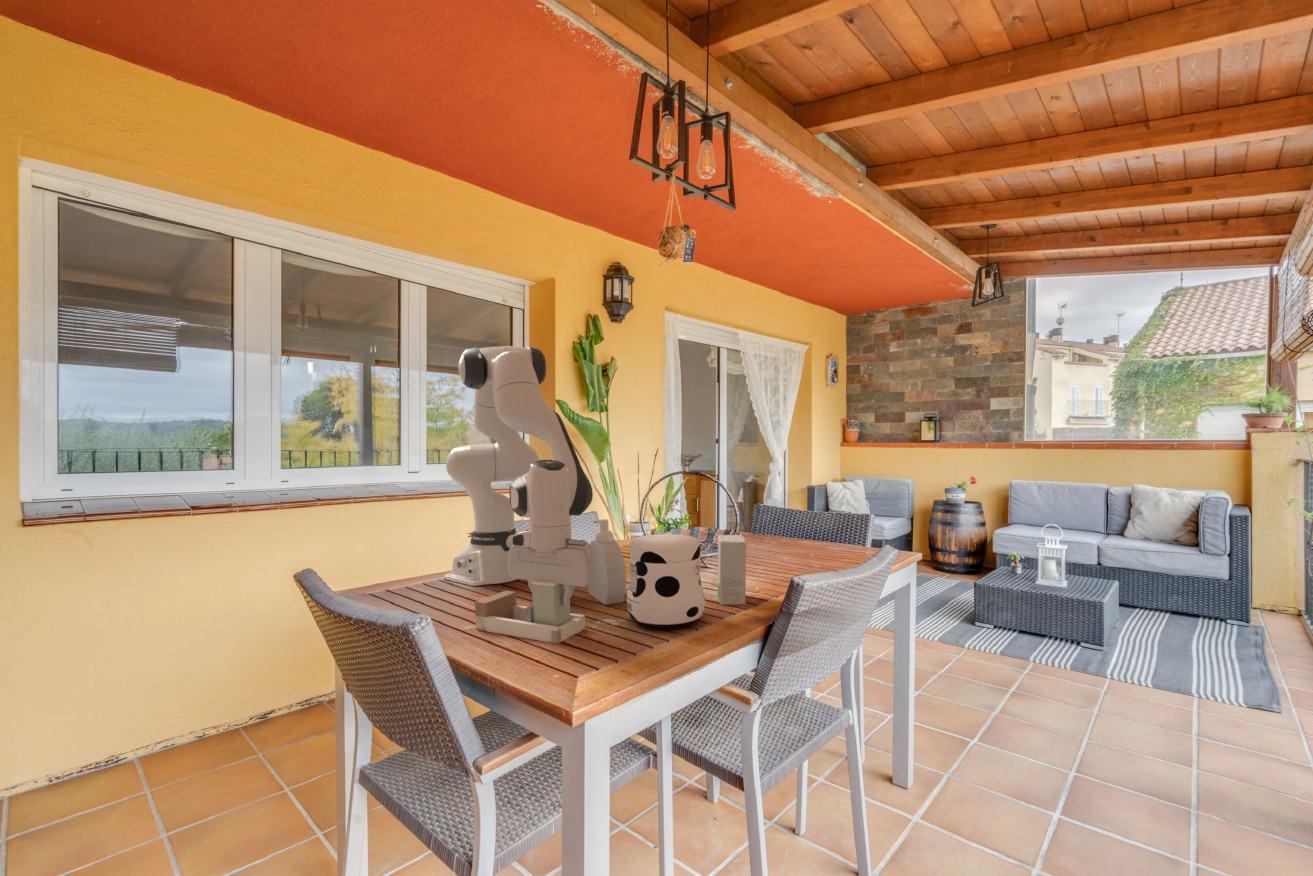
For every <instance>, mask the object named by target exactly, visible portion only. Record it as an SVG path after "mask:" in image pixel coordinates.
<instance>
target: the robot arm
mask: <svg viewBox="0 0 1313 876" xmlns="http://www.w3.org/2000/svg"><path fill="white" fill-rule="evenodd" d="M547 365H548V364H547V361H546V357H545V354H544V353H543V351H541V349H539V348H535V347H533V346H532V347H531V346H526V347H523V346H517V345H515V346H514V345H502V346H488V347H487V346H486V347H478V346H476V347H471V348H467V349H464V351H463V352H462V353H461V355H460V359H459V360H458V374H459V376H460V379H461V382H462V384H463V385H464V386H465V387H467V388H469V389H473V390H474V414H473V415H474V417H473V418H474V420H473V421H474V425H475V428H476V429H477V430H478V432H479V433H481V434H482V435H484V437H485V436H486V437H487V438H491V439H492V440H493V441H495V442H494V443H484V444H481V443H478V444H477V443H475V444H474V443H473V444H465V445H459V446H456V447H454V448H452V449H451V450H450V451H449V453H448V455H447V456H446V461H445V469H446V471H447V473H448V475H449V477H450V478H451V479H452V481H454V482H456V483H458V485H460V486H461V487H462V488H463V489H464V490H465V491H466V493H467V494H468V496H469V498H470V501H471V503H472V507H473V517H474V518H473V519H474V530H473V532H469V533H467V535H468V536H467V538H470V541H469V542H470V543H469V544H468V545H467V546H465V547H464V548H463V549H462V550H461V551H460V552H459V553H457V554H456V555H455V556H454V558H453V561H452V569H451V571H450V573H449V572H447V573H445V574H444V575H443V579H444V578H445V579H444V580H446V581H451V582H455V583H459V584H463V585H467V586H473V587H474V586H475V587H476V586H483V585H495V584H505V583H508V582H513V581H516V580H521V581H523V580H524V581H527V586H528V587H529V589H530V592H531V593H532V584H531V581H534V580H537V581H547V582H557V584H563V585H564V590H566V591H565V594H564V595H563V596H561V597H560V605H564V606H567V605H569V604H570V605H571V598H570V596H571V594H572V595H573V593H574V590H575V588H576V587H580V588H585V587H586V588H587V586H588V585H590V584H592V583H593V582H594V580H595V569H594V562H593V549H592V546H591V545H590V543H589V542H587V541H586V540H585V539H580V540H579V539H573V538H572V519H571V516H573V517H574V516H577V517H579V516H581V515H582V514H583V513H585V511H586V510H587V509H588V508H589V506H590V505H591V504H592V501H593V495H594V494H593V493H594V492H593V487H592V484H591V481H590V479H589V478H588V476H587V474H586V473H585V471H584V469H583V467H582V465H581V463H580V460H579V458H578V455H577V453H576V450H575V447H574V445H573V443H572V441H571V438H570V434H569V433H568V430H567V428H566V426H565V423H564V421H563V420H562V418H561V416H560V414H559V413H558V412H556V411H555V410H553V409H552V407H550V405H548V403H547V402H546V401H545V399H544V397H543V395H542V391H541V388H540V385H542V383H544V381H545V379H546V376H547V370H548V369H547V367H548V366H547ZM519 432H520V433H523V434H527V435H529V436H532V437H535V438H537V439H539V440H541V441H543V442H544V443H546V444H547V445H548V447H549V448H550V450H551V451H552V452H551V453H552V455H553V457H554V460H553V459H539V456H538V453H537V451H536V449H535V448H534V447H533V446H532V445H530V444H529V443H527V442H526V441H525V440H524V438H522V437H521V435H520V433H519ZM494 482H499V483H500V482H512V483H511V484H510V485H509V497H508V496H507V495H504V494H502V493H501V492H497V491H496V490H494V489H493V488H492V483H494ZM515 515H517V516H519V517H521V518H529V520H528V529H526V530H523V531H522V532H521V531H520V532H518V533H517V530H516V528H515ZM456 570H457V571H456Z"/></svg>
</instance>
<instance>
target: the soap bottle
mask: <svg viewBox="0 0 1313 876" xmlns="http://www.w3.org/2000/svg"><path fill="white" fill-rule="evenodd" d="M592 522H593V524H599V530H598V531H597V532H596V534H595V540H591V541H590V543H589V544H590V545H591V546H592V549H593V562H594V569H595V580H594V582H593V583H592V584H590V585H588V586H586V588H587V590H588V594H589V595H590V596H592V598H594V599H596V600H597V601H598V602H600V603H601V604H603V605H604V606H607V605H615V604H620V603H622V604H623V602H624V600H625V596H626V591H627V590H626V589H627V572H626V562H625V560H624V558H625V557H624V554H623V551H622V549H621V547H620V545H619V543H618V542H616V541H615V540H614V533H613V532H612V531H611V530H609V518H608V519H606V518H602V519H595V520H593V521H592Z"/></svg>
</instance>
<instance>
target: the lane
mask: <svg viewBox="0 0 1313 876" xmlns="http://www.w3.org/2000/svg"><path fill="white" fill-rule="evenodd" d="M474 605H475V606H474V607H475V608H474V611H475V613H474V614H475V630H477V631H483V632H489V633H494V634H501V635H506V636H512V637H516V638H522V639H529V640H535V641H540V642H545V643H550V644H551V643H552V644H556V645H558V644H560V643H562V642H563V640H564V641H565V640H567V639H569V638H571V637H573V636H574V634H575V635H577V634H579V633H580V632H582V631H584V630H585V628H586V626H585V625H586V618H585V616H586V615H585V614H580V613H572V612H570V621H568V622H566V623H564V624H562V625H560V626H558V627H557V626H551V625H545V624H539V623H532V622H526V621H520V620H522V619H524V618H527V613H526V608H527V607H528V606H525V605H518V604H517V591H511V590H504V591H502V592H499V593H496V594H493V595H489V596H487V597H485V598H482V599H479V600H477V601H474ZM583 629H584V630H583ZM581 630H582V631H581ZM572 635H573V636H572ZM570 636H571V637H570Z"/></svg>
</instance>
